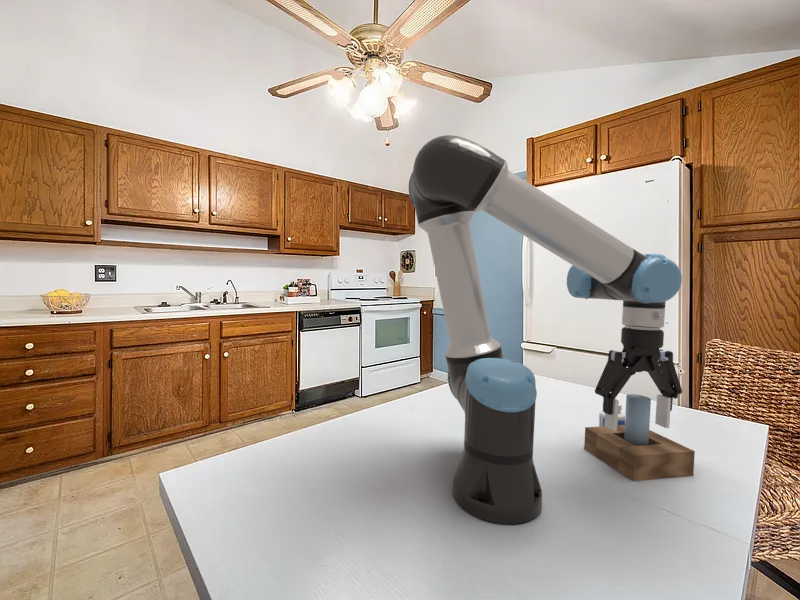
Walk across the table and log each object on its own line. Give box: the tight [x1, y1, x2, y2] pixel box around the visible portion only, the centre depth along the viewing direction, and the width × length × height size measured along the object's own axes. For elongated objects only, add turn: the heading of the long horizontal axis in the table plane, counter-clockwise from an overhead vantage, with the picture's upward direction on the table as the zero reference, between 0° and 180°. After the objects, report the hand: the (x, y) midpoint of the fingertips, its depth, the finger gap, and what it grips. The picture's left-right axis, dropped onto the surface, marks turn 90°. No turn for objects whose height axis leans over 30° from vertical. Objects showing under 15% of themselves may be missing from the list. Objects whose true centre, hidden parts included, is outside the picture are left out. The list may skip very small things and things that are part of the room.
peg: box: [624, 393, 652, 446], centre depth 79 cm, size 4×4×14 cm
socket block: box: [583, 425, 696, 482], centre depth 80 cm, size 14×14×5 cm
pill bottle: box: [598, 402, 625, 427], centre depth 89 cm, size 6×5×10 cm
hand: (636, 427), depth 79 cm, fingers open, 12 cm apart
